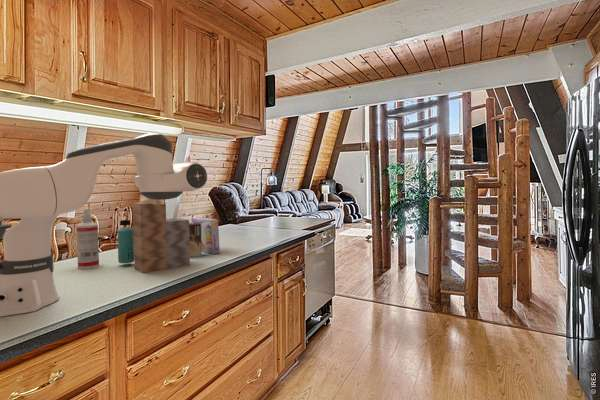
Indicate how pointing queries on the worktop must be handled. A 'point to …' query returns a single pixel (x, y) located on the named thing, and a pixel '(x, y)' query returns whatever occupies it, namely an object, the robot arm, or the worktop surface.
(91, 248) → the spray bottle
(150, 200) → the rod
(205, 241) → the cake pan box
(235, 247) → the worktop surface
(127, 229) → the beverage bottle
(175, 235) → the stepped stand
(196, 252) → the coffee box
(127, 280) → the worktop surface
